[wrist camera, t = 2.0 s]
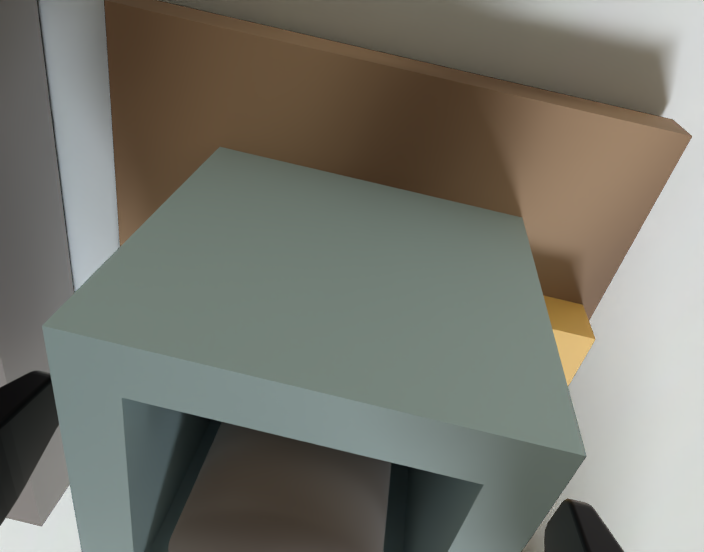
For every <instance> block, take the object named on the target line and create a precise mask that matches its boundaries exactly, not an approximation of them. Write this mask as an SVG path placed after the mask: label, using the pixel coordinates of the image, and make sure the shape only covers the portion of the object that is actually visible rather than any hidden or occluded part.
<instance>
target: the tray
mask: <svg viewBox="0 0 704 552" xmlns="http://www.w3.org/2000/svg"><path fill="white" fill-rule="evenodd" d="M73 294H74V289H73V281H72V273H71V266H70V258H69V250H68V242H67V234H66V226H65V219H64V211H63V203H62V195H61V187H60V179H59V172H58V164H57V156H56V148H55V140H54V133H53V125H52V117H51V109H50V101H49V93H48V86H47V78H46V70H45V62H44V54H43V46H42V39H41V31H40V23H39V15H38V7H37V0H0V387H2V386H4V385H6V384H7V383H9V382H11V381H13V380H15V379H17V378H19V377H21V376H23V375H25V374H27V373H29V372H32V371H36V370H39V371H44V372H48V373H50V369H49V363H48V358H47V352H46V346H45V341H44V335H43V329H42V325H43V324H44V323H45V322H46V321H47V320H48V319H49V318H50V317H51V316H52V315H53V314H54V313H55V312H56V311H57V310H58V309H59V308H60V307H61V306H62V305H63V304H64V303H65V302H66V301H67V300H68V299H69V298H70V297H71V296H72V295H73ZM69 485H70V482H69V476H68V471H67V465H66V460H65V454H64V448H63V443H62V437H61V431H60V426H58V427H57V429H56V431H55V433H54V435H53V437H52V438H51V440H50V442H49V444H48V446H47V448H46V449H45V451H44V453H43V455H42V457H41V459H40V461H39V462H38V464H37V466H36V468H35V470H34V472H33V473H32V475H31V477H30V479H29V481H28V483H27V484H26V486H25V488H24V490H23V491H22V493H21V495H20V497H19V498H18V500H17V502H16V503H15V505H14V506H13V508H12V509H11V511H10V512H9V514H8V515H7V517H6V518H9V519H13V520H17V521H22V522H26V523H30V524H34V525H38V526H42V525H43V524H44V522H45V521H46V519H47V518H48V516H49V515H50V513H51V512H52V510H53V509H54V507H55V506H56V504H57V503H58V501H59V500H60V498H61V497H62V495H63V494H64V492H65V491H66V489H67V488H68V486H69Z"/></svg>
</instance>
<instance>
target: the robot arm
mask: <svg viewBox="0 0 704 552" xmlns="http://www.w3.org/2000/svg"><path fill="white" fill-rule="evenodd" d="M58 426H59V420H58V414H57V409H56V403H55V397H54V392H53V386H52V380H51V375H50V373H48V372H44V371H39V370H36V371H32V372H29V373H27V374H25V375H23V376H21V377H19V378H17V379H15V380H13V381H11V382H9V383H7V384H6V385H4V386H2V387H0V525H1V524H2V523H3V521H4V520H5V518H6V517H7V515H8V514H9V512H10V511H11V509H12V508H13V506H14V505H15V503H16V502H17V500H18V498H19V497H20V495H21V493H22V491H23V490H24V488H25V486H26V484H27V483H28V481H29V479H30V477H31V475H32V473H33V472H34V470H35V468H36V466H37V464H38V462H39V461H40V459H41V457H42V455H43V453H44V451H45V449H46V448H47V446H48V444H49V442H50V440H51V438H52V437H53V435H54V433H55V431H56V429H57V427H58ZM544 546H545V552H624V551H623V549H622V548H621V547H620V545H619V544H618V542H617V541H616V539H615V538H614V537H613V535H612V534H611V532H610V531H609V529H608V528H607V527H606V525H605V524H604V522H603V521H602V519H601V518H600V517H599V515H598V514H597V512H596V511H595V509H594V508H593V507H592V506H591V505H589V504H587V503H585V502H581V501H576V500H572V499H566V500H564V501H563V502H562V503H561V505H560V506H559V508H558V509H557V510H556V512H555V513H554V515H553V516H552V518H551V519H550V521H549V522H548V524H547V526H546V529H545V536H544Z"/></svg>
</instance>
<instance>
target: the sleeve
mask: <svg viewBox="0 0 704 552" xmlns="http://www.w3.org/2000/svg"><path fill="white" fill-rule="evenodd" d="M42 329H43V335H44V341H45V346H46V352H47V358H48V363H49V369H50V375H51V380H52V386H53V392H54V397H55V403H56V409H57V414H58V420H59V426H60V431H61V437H62V443H63V448H64V454H65V460H66V465H67V471H68V476H69V482H70V488H71V493H72V499H73V505H74V510H75V516H76V522H77V527H78V533H79V539H80V544H81V550H82V552H168V546H169V541H170V538H171V536H172V533H173V531H174V529H175V526H176V524H177V522H178V520H179V517H180V515H181V513H182V511H183V508H184V506H185V504H186V502H187V499H188V497H189V495H190V493H191V490H192V488H193V486H194V484H195V481H196V479H197V477H198V474H199V472H200V470H201V468H202V465H203V463H204V461H205V459H206V456H207V454H208V452H209V450H210V447H211V445H212V443H213V441H214V438H215V436H216V434H217V432H218V429H219V427H220V425H221V422H225V423H229V424H233V425H238V426H242V427H246V428H250V429H254V430H258V431H263V432H267V433H271V434H275V435H279V436H283V437H287V438H292V439H296V440H300V441H304V442H308V443H312V444H316V445H321V446H325V447H329V448H333V449H337V450H341V451H346V452H350V453H354V454H358V455H362V456H366V457H370V458H375V459H379V460H383V461H387V462H391V474H390V484H389V495H388V505H387V516H386V526H385V537H384V547H383V552H522V550H523V549H524V547H525V546H526V544H527V543H528V541H529V540H530V539H531V537H532V536H533V534H534V533H535V531H536V530H537V528H538V527H539V525H540V524H541V522H542V521H543V519H544V518H545V516H546V515H547V514H548V512H549V511H550V509H551V508H552V506H553V505H554V503H555V502H556V500H557V499H558V497H559V496H560V494H561V493H562V491H563V490H564V489H565V487H566V486H567V484H568V483H569V481H570V480H571V478H572V477H573V475H574V474H575V472H576V471H577V469H578V468H579V466H580V465H581V464H582V462H583V461H584V459H585V458H586V453H585V449H584V445H583V441H582V438H581V434H580V430H579V427H578V423H577V419H576V415H575V412H574V408H573V404H572V401H571V397H570V393H569V389H568V385H569V384H570V382H571V380H572V379H573V377H574V375H575V373H576V372H577V370H578V368H579V367H580V365H581V363H582V361H583V360H584V358H585V356H586V355H587V353H588V351H589V349H590V348H591V346H592V344H593V343H594V341H595V336H594V334H593V331H592V328H591V326H590V323H589V320H588V317H587V315H586V312H585V309H584V306H583V305H582V304H578V303H573V302H569V301H565V300H561V299H556V298H552V297H548V296H544V295H543V293H542V289H541V285H540V281H539V278H538V274H537V270H536V266H535V263H534V259H533V255H532V252H531V248H530V244H529V240H528V237H527V233H526V229H525V225H524V222H523V218H522V217H518V216H513V215H509V214H505V213H501V212H496V211H492V210H488V209H484V208H479V207H475V206H471V205H466V204H462V203H458V202H454V201H449V200H445V199H441V198H437V197H432V196H428V195H424V194H420V193H415V192H411V191H407V190H402V189H398V188H394V187H390V186H385V185H381V184H377V183H373V182H368V181H364V180H360V179H355V178H351V177H347V176H343V175H338V174H334V173H330V172H326V171H321V170H317V169H313V168H309V167H304V166H300V165H296V164H291V163H287V162H283V161H279V160H274V159H270V158H266V157H262V156H257V155H253V154H249V153H244V152H240V151H236V150H232V149H227V148H223V147H219V148H218V149H217V150H216V151H215V152H214V153H213V154H212V155H211V156H210V157H209V158H208V159H207V160H206V161H205V162H204V163H203V164H202V165H201V166H200V167H199V168H198V169H197V170H196V171H195V172H194V173H193V174H192V175H191V176H190V177H189V178H188V179H187V180H186V181H185V182H184V183H183V184H182V185H181V186H180V187H179V188H178V189H177V190H176V191H175V192H174V193H173V194H172V195H171V196H170V197H169V198H168V199H167V200H166V201H165V202H164V203H163V204H162V205H161V206H160V207H159V208H158V209H157V210H156V211H155V212H154V213H153V214H152V215H151V216H150V217H149V218H148V219H147V220H146V221H145V222H144V223H143V224H142V225H141V226H140V227H139V228H138V229H137V230H136V231H135V232H134V233H133V234H132V235H131V236H130V237H129V238H128V239H127V240H126V241H125V243H124V244H123V245H122V246H121V247H120V248H119V249H118V250H117V251H116V252H115V253H114V254H113V255H112V256H111V257H110V258H109V259H108V260H107V261H106V262H105V263H104V264H103V265H102V266H101V267H100V268H99V269H98V270H97V271H96V272H95V273H94V274H93V275H92V276H91V277H90V278H89V279H88V280H87V281H86V282H85V283H84V284H83V285H82V286H81V287H80V288H79V289H78V290H77V291H76V292H75V293H74V294H73V295H72V296H71V297H70V298H69V299H68V300H67V301H66V302H65V303H64V304H63V305H62V306H61V307H60V308H59V309H58V310H57V311H56V312H55V313H54V314H53V315H52V316H51V317H50V318H49V319H48V320H47V321H46V322H45V323H44V324H43V325H42Z"/></svg>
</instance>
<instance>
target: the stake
mask: <svg viewBox="0 0 704 552" xmlns="http://www.w3.org/2000/svg"><path fill="white" fill-rule="evenodd" d="M104 6H105V22H106V37H107V53H108V68H109V84H110V99H111V115H112V131H113V146H114V162H115V177H116V193H117V208H118V224H119V240H120V247H121V246H122V245H123V244H124V243H125V241H126V240H127V239H128V238H129V237H130V236H131V235H132V234H133V233H134V232H135V231H136V230H137V229H138V228H139V227H140V226H141V225H142V224H143V223H144V222H145V221H146V220H147V219H148V218H149V217H150V216H151V215H152V214H153V213H154V212H155V211H156V210H157V209H158V208H159V207H160V206H161V205H162V204H163V203H164V202H165V201H166V200H167V199H168V198H169V197H170V196H171V195H172V194H173V193H174V192H175V191H176V190H177V189H178V188H179V187H180V186H181V185H182V184H183V183H184V182H185V181H186V180H187V179H188V178H189V177H190V176H191V175H192V174H193V173H194V172H195V171H196V170H197V169H198V168H199V167H200V166H201V165H202V164H203V163H204V162H205V161H206V160H207V159H208V158H209V157H210V156H211V155H212V154H213V153H214V152H215V151H216V150H217V149H218V148H219V147H223V148H227V149H232V150H236V151H240V152H244V153H249V154H253V155H257V156H262V157H266V158H270V159H274V160H279V161H283V162H287V163H291V164H296V165H300V166H304V167H309V168H313V169H317V170H321V171H326V172H330V173H334V174H338V175H343V176H347V177H351V178H355V179H360V180H364V181H368V182H373V183H377V184H381V185H385V186H390V187H394V188H398V189H402V190H407V191H411V192H415V193H420V194H424V195H428V196H432V197H437V198H441V199H445V200H449V201H454V202H458V203H462V204H466V205H471V206H475V207H479V208H484V209H488V210H492V211H496V212H501V213H505V214H509V215H513V216H518V217H522V218H523V222H524V225H525V229H526V233H527V237H528V240H529V244H530V248H531V252H532V255H533V259H534V263H535V266H536V270H537V274H538V278H539V281H540V285H541V289H542V293H543V295H544V296H548V297H552V298H556V299H561V300H565V301H569V302H573V303H578V304H582V305H583V306H584V309H585V312H586V315H587V317H588V320H590V318H591V316H592V314H593V313H594V311H595V309H596V307H597V305H598V304H599V302H600V300H601V298H602V297H603V295H604V293H605V291H606V289H607V288H608V286H609V284H610V282H611V280H612V279H613V277H614V275H615V273H616V272H617V270H618V268H619V266H620V264H621V263H622V261H623V259H624V257H625V255H626V254H627V252H628V250H629V248H630V246H631V245H632V243H633V241H634V239H635V238H636V236H637V234H638V232H639V230H640V229H641V227H642V225H643V223H644V221H645V220H646V218H647V216H648V214H649V213H650V211H651V209H652V207H653V205H654V204H655V202H656V200H657V198H658V196H659V195H660V193H661V191H662V189H663V188H664V186H665V184H666V182H667V180H668V179H669V177H670V175H671V173H672V171H673V170H674V168H675V166H676V164H677V163H678V161H679V159H680V157H681V155H682V154H683V152H684V150H685V148H686V146H687V145H688V143H689V141H690V139H691V138H692V136H691V135H690V134H689V133H688V132H687V131H686V130H684V129H683V128H682V127H681V126H680V125H679V124H677V123H676V122H675V121H674V120H673V119H668V118H664V117H660V116H655V115H651V114H647V113H642V112H638V111H634V110H630V109H625V108H621V107H617V106H612V105H608V104H604V103H599V102H595V101H591V100H586V99H582V98H578V97H573V96H569V95H565V94H560V93H556V92H552V91H547V90H543V89H539V88H534V87H530V86H526V85H521V84H517V83H513V82H508V81H504V80H500V79H495V78H491V77H487V76H482V75H478V74H474V73H469V72H465V71H461V70H456V69H452V68H448V67H443V66H439V65H435V64H430V63H426V62H422V61H417V60H413V59H409V58H404V57H400V56H396V55H391V54H387V53H383V52H378V51H374V50H370V49H365V48H361V47H357V46H352V45H348V44H344V43H340V42H335V41H331V40H327V39H322V38H318V37H314V36H309V35H305V34H301V33H296V32H292V31H288V30H283V29H279V28H275V27H270V26H266V25H262V24H257V23H253V22H249V21H244V20H240V19H236V18H231V17H227V16H223V15H218V14H214V13H210V12H205V11H201V10H197V9H192V8H188V7H184V6H179V5H175V4H171V3H166V2H162V1H158V0H104ZM390 474H391V462H387V461H383V460H379V459H375V458H370V457H366V456H362V455H358V454H354V453H350V452H346V451H341V450H337V449H333V448H329V447H325V446H321V445H316V444H312V443H308V442H304V441H300V440H296V439H292V438H287V437H283V436H279V435H275V434H271V433H267V432H263V431H258V430H254V429H250V428H246V427H242V426H238V425H233V424H229V423H225V422H221V425H220V427H219V429H218V432H217V434H216V436H215V438H214V441H213V443H212V445H211V447H210V450H209V452H208V454H207V456H206V459H205V461H204V463H203V465H202V468H201V470H200V472H199V474H198V477H197V479H196V481H195V484H194V486H193V488H192V490H191V493H190V495H189V497H188V499H187V502H186V504H185V506H184V508H183V511H182V513H181V515H180V517H179V520H178V522H177V524H176V526H175V529H174V531H173V533H172V536H171V538H170V541H169V546H168V552H383V547H384V537H385V526H386V516H387V505H388V495H389V484H390Z"/></svg>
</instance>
